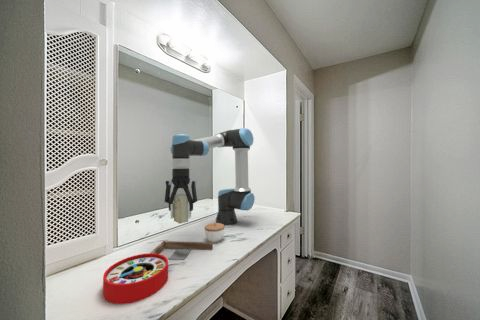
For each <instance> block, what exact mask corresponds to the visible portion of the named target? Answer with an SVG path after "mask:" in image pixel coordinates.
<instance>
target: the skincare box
mask: <svg viewBox="0 0 480 320" xmlns="http://www.w3.org/2000/svg"><path fill="white" fill-rule="evenodd" d="M173 203H174V218H173V222H176V223H177V224H183V223H185V224H186V223H189V219H188V204H189V201H188V199H187V196H186V193H185V194H184V193H180V194H179V193H176V195H174V201H173Z"/></svg>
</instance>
